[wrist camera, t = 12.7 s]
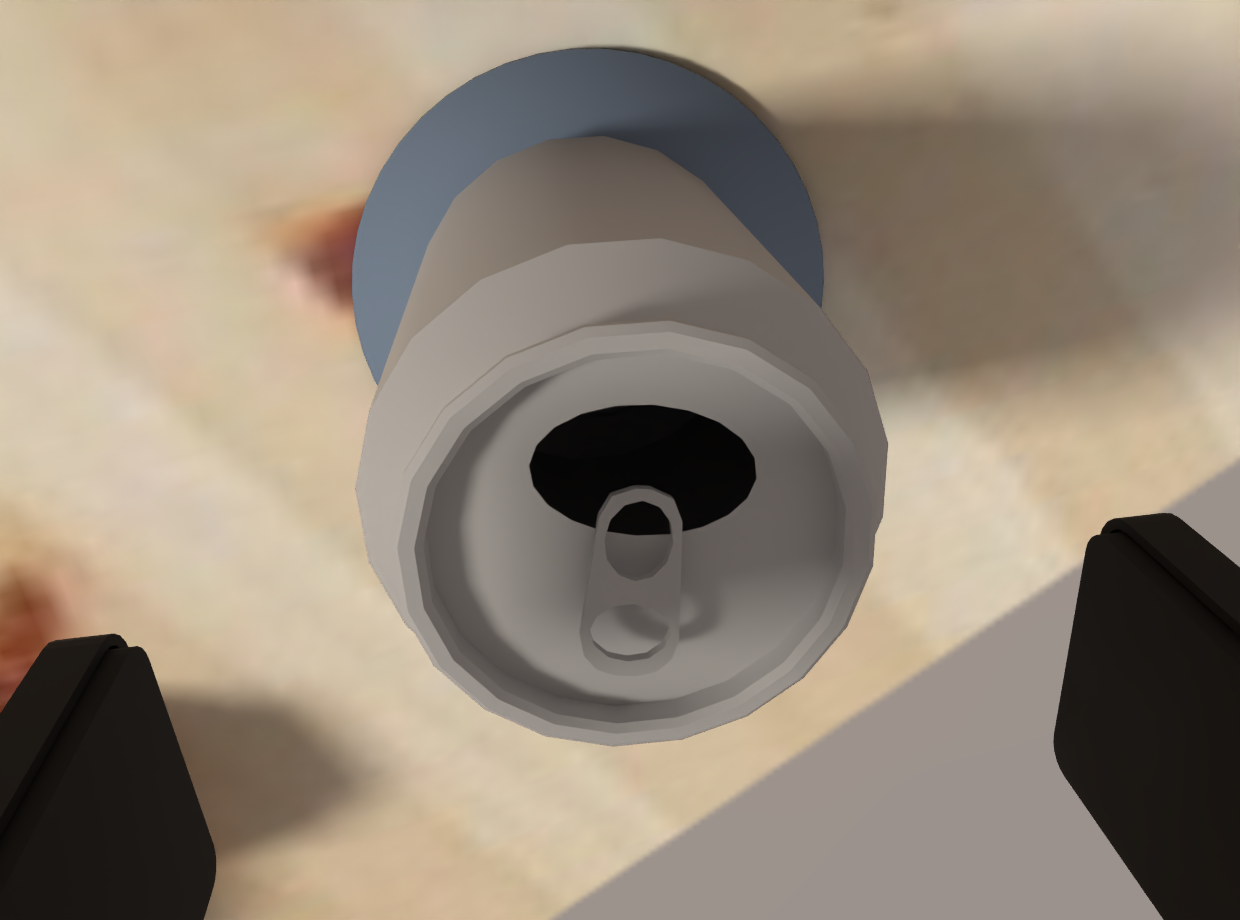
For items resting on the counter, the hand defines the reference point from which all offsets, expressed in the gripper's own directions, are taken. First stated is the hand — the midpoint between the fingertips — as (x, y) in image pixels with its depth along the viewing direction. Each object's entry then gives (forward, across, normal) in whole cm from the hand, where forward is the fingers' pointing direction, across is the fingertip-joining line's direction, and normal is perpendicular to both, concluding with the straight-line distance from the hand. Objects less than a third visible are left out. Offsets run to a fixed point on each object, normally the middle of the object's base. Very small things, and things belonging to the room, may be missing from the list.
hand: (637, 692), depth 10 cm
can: (+15, -1, 0) cm, 15 cm away
